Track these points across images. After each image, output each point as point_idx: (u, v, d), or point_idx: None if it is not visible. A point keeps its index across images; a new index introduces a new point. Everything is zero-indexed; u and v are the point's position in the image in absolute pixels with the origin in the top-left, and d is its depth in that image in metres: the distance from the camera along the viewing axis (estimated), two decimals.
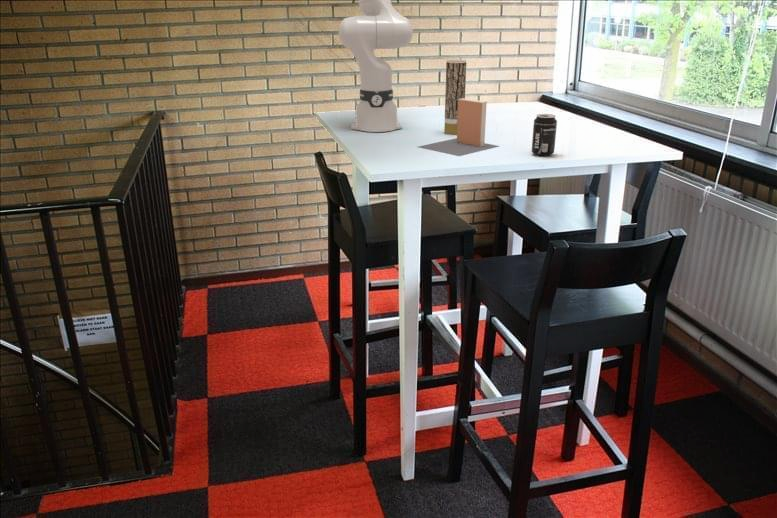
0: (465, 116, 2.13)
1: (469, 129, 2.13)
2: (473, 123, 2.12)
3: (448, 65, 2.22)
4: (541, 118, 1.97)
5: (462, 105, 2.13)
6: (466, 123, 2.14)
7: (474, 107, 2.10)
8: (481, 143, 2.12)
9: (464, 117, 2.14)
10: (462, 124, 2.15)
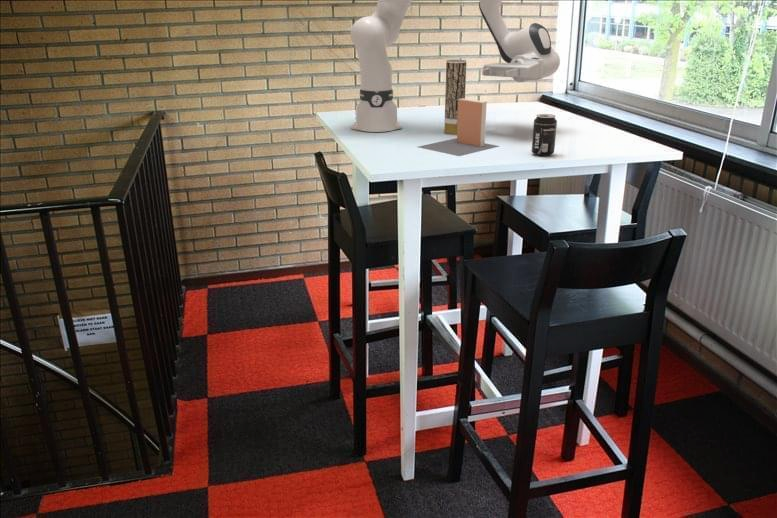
0: (465, 116, 2.13)
1: (469, 129, 2.13)
2: (473, 123, 2.12)
3: (448, 65, 2.22)
4: (541, 118, 1.97)
5: (462, 105, 2.13)
6: (466, 123, 2.14)
7: (474, 107, 2.10)
8: (481, 143, 2.12)
9: (464, 117, 2.14)
10: (462, 124, 2.15)
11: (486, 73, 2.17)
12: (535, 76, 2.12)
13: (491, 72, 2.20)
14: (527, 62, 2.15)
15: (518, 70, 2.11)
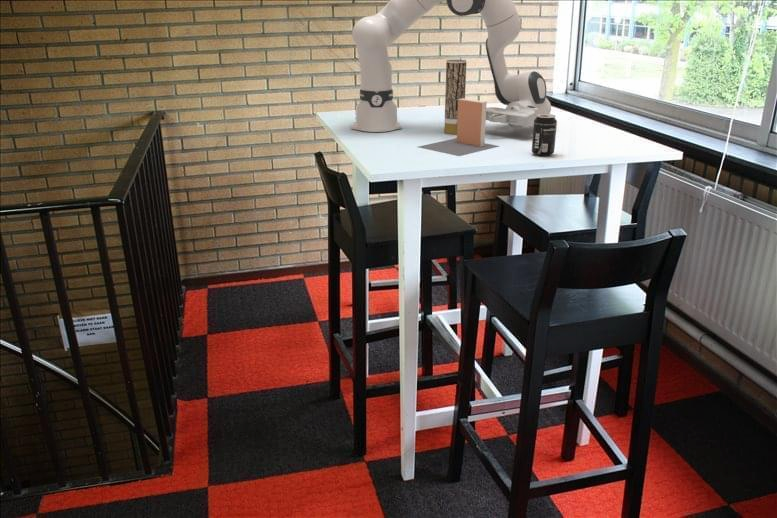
0: (465, 116, 2.13)
1: (469, 129, 2.13)
2: (473, 123, 2.12)
3: (448, 65, 2.22)
4: (541, 118, 1.97)
5: (462, 105, 2.13)
6: (466, 123, 2.14)
7: (474, 107, 2.10)
8: (481, 143, 2.12)
9: (464, 117, 2.14)
10: (462, 124, 2.15)
11: None
12: (531, 124, 2.21)
13: None
14: (523, 110, 2.24)
15: (506, 116, 2.22)
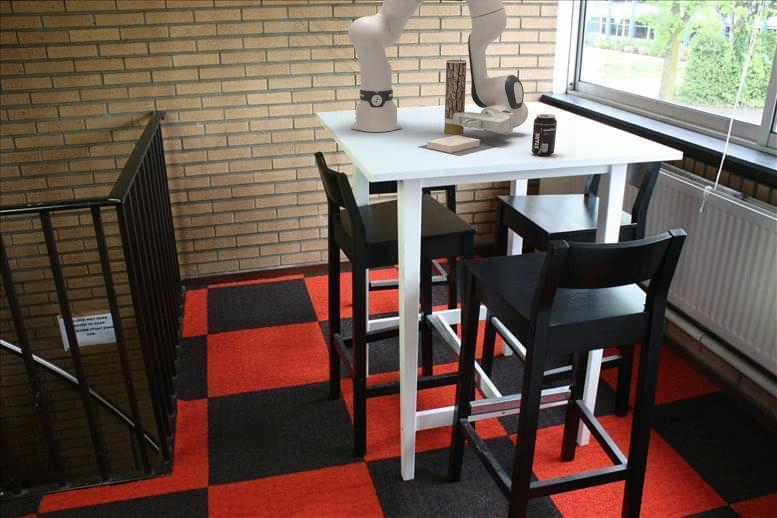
0: None
1: None
2: None
3: (448, 65, 2.22)
4: (541, 118, 1.97)
5: None
6: None
7: None
8: (477, 144, 2.11)
9: None
10: None
11: None
12: (506, 130, 2.12)
13: None
14: (498, 115, 2.15)
15: (480, 122, 2.13)
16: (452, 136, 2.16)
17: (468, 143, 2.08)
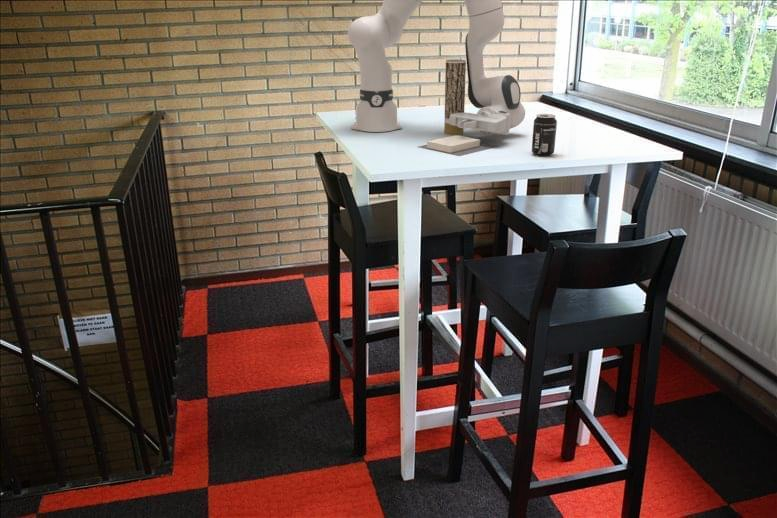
0: None
1: None
2: None
3: (447, 65, 2.22)
4: (541, 118, 1.97)
5: None
6: None
7: None
8: (477, 144, 2.11)
9: None
10: None
11: None
12: (502, 131, 2.10)
13: None
14: (494, 115, 2.14)
15: (476, 122, 2.12)
16: (452, 136, 2.16)
17: (468, 143, 2.08)
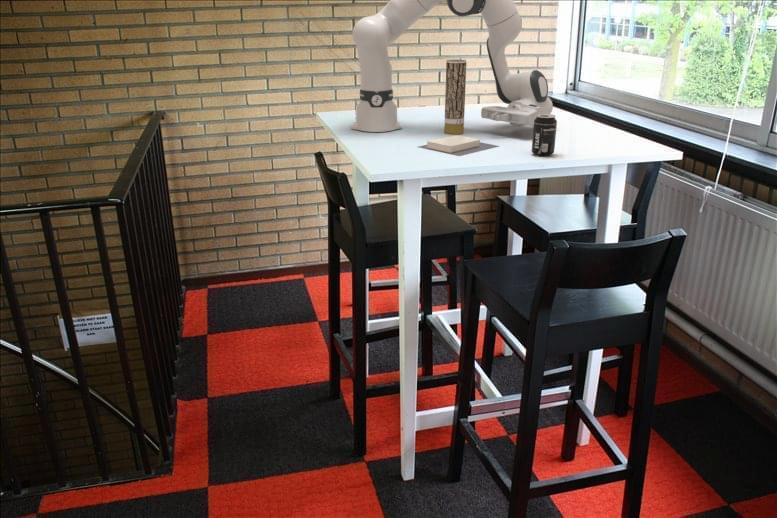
0: None
1: None
2: None
3: (448, 65, 2.22)
4: (541, 118, 1.97)
5: None
6: None
7: None
8: (477, 144, 2.11)
9: None
10: None
11: None
12: (533, 123, 2.21)
13: None
14: (525, 109, 2.24)
15: (508, 115, 2.22)
16: (452, 136, 2.16)
17: (468, 143, 2.08)
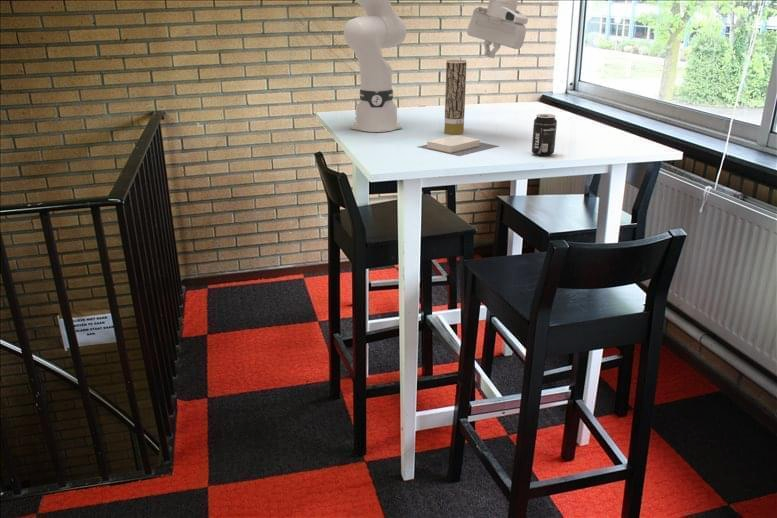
0: None
1: None
2: None
3: (448, 65, 2.22)
4: (541, 118, 1.97)
5: None
6: None
7: None
8: (477, 144, 2.11)
9: None
10: None
11: None
12: (524, 36, 2.06)
13: (490, 43, 2.13)
14: (505, 24, 2.05)
15: (497, 45, 2.10)
16: (452, 136, 2.16)
17: (468, 143, 2.08)
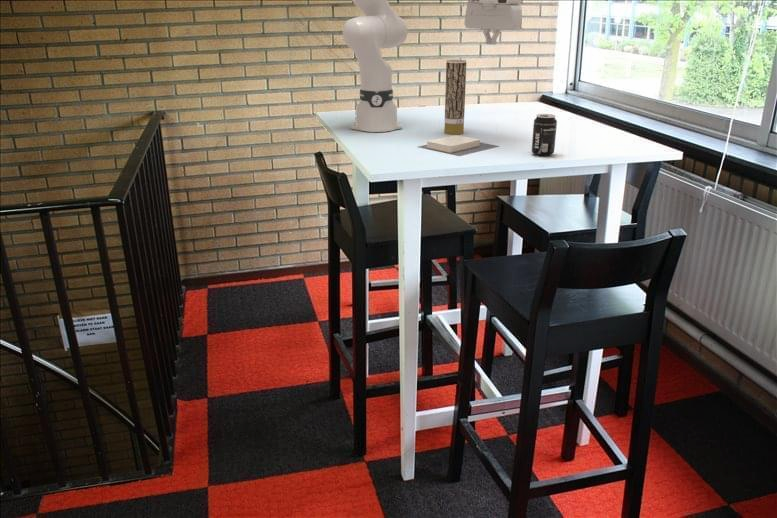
0: None
1: None
2: None
3: (448, 65, 2.22)
4: (541, 118, 1.97)
5: None
6: None
7: None
8: (477, 144, 2.11)
9: None
10: None
11: None
12: (521, 15, 2.01)
13: (489, 30, 2.09)
14: (500, 8, 2.01)
15: (496, 30, 2.06)
16: (452, 136, 2.16)
17: (468, 143, 2.08)
